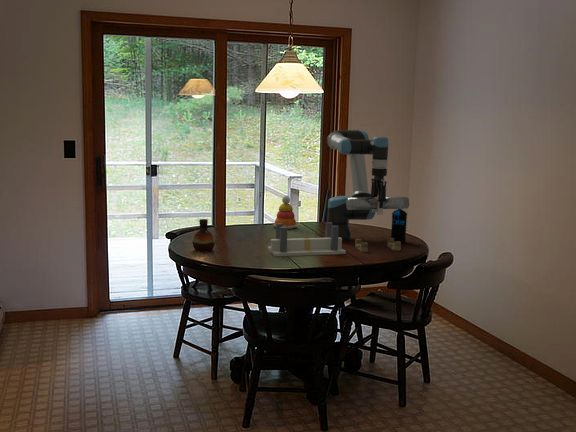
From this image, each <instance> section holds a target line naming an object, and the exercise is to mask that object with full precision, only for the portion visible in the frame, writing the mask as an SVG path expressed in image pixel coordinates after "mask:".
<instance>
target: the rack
mask: <svg viewBox="0 0 576 432" xmlns="http://www.w3.org/2000/svg"><path fill="white" fill-rule="evenodd" d="M368 245H369V243H368V242H366V241H365V242H364V241H363V240H362V239H361V238H355V241H354V249H356V250H358V251H359V250H360V251H359V252H361V253H365V252H366V253H368V247H369V246H368ZM401 245H402V244H401V242H400V241H396V242H394V238H391V237H390V238H389V237H388V238H387V247H388V248H389V249H391V250H393V251H394V250H395V252H397V251H398V252H401V251H400V250H402V248H401V247H402V246H401Z"/></svg>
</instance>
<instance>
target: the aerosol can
mask: <svg viewBox="0 0 576 432" xmlns="http://www.w3.org/2000/svg"><path fill="white" fill-rule="evenodd" d="M391 215H392V216H391V234H390V238H394V242H396V241H400V242H401V243H403V244H406V243H407V241H406V235H407V234H406V233H407V218H408V213H407V212H406V211H405V210H404V209H394V211H393V212H391Z"/></svg>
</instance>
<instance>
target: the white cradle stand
mask: <svg viewBox="0 0 576 432" xmlns="http://www.w3.org/2000/svg"><path fill="white" fill-rule="evenodd" d="M325 230H326V231H325ZM325 230H324V233H325V238H324V237H306V238H304V237H303V238H302V237H297V238H288V228H287V227H283V224H282V223H278V224H276V227H275V238H272V239H270V245H267V250H268V251H269V252H270V254H272V255H273V256H274V257H293V256H294V257H296V256H297V257H298V256H299V257H300V256H323V255H346V254H347V250H346V249H344V248H343V246H342V245H343V241H342V238H341V237H338V230H339V226H333V223H332V222H328V221H326V222H325Z"/></svg>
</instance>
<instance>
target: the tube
mask: <svg viewBox="0 0 576 432" xmlns="http://www.w3.org/2000/svg"><path fill="white" fill-rule="evenodd" d="M378 200H379V198H378V197H371V198H351V197H350V198H347V200H346V207H347V209H348V210H364V209H377V207H378V202H377V201H378ZM409 207H410V199H409V197H408V196H397V197H396V196H391V197H390V196H386V201H384V202H383V210H398V209H402V210H405V209H406V210H407V209H408V208H409Z"/></svg>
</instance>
